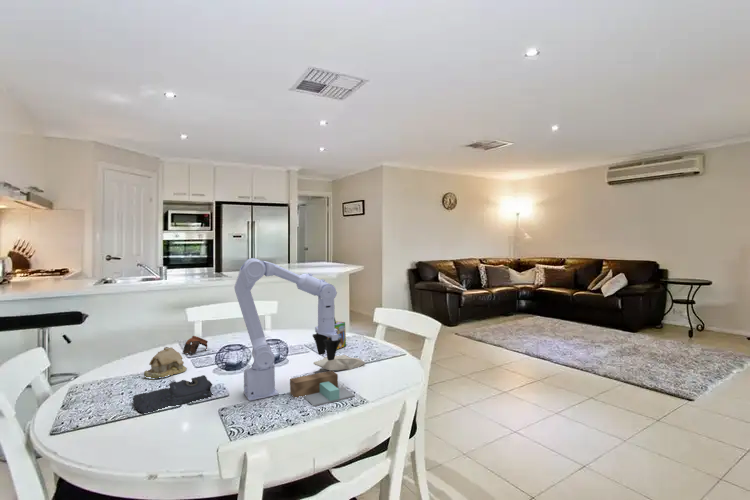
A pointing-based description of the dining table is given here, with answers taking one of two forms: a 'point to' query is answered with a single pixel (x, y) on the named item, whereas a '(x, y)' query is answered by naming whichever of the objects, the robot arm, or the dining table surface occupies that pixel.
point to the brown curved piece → (194, 344)
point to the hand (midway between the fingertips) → (326, 356)
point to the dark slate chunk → (174, 394)
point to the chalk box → (340, 333)
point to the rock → (340, 363)
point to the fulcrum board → (323, 400)
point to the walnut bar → (311, 383)
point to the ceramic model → (165, 364)
